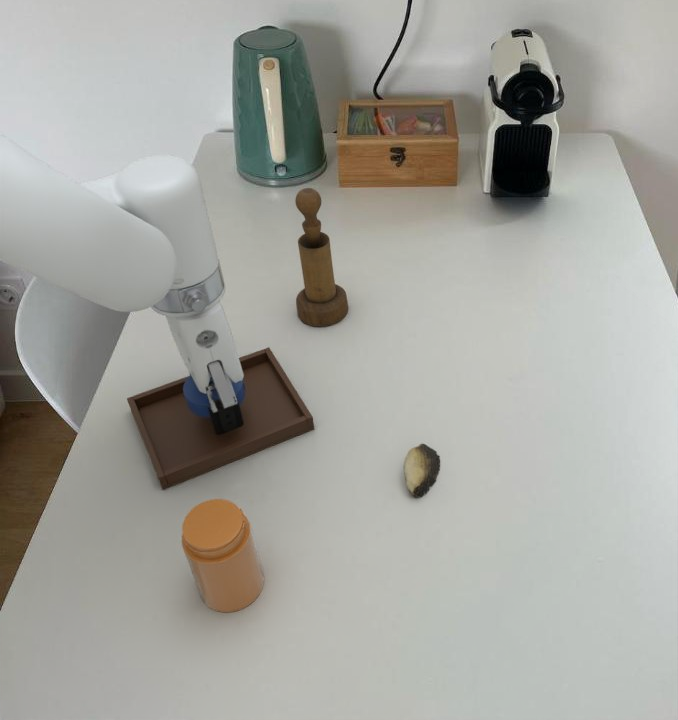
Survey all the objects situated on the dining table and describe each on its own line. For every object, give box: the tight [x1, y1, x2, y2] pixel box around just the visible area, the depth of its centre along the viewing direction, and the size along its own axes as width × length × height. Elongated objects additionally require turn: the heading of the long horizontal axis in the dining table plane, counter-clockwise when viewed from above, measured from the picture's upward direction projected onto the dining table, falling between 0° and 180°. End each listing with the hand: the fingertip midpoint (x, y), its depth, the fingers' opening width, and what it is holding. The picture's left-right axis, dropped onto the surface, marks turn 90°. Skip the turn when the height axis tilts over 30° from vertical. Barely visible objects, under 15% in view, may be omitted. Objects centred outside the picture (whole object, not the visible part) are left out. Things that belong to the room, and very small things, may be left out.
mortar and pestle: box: [294, 187, 349, 327], centre depth 100 cm, size 7×6×18 cm
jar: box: [181, 498, 265, 613], centre depth 73 cm, size 6×6×10 cm
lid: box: [183, 374, 246, 418], centre depth 89 cm, size 6×6×2 cm
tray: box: [126, 347, 315, 491], centre depth 92 cm, size 17×13×2 cm
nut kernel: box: [403, 443, 441, 498], centre depth 85 cm, size 6×5×3 cm
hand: (218, 407), depth 91 cm, fingers closed on lid, 6 cm apart
